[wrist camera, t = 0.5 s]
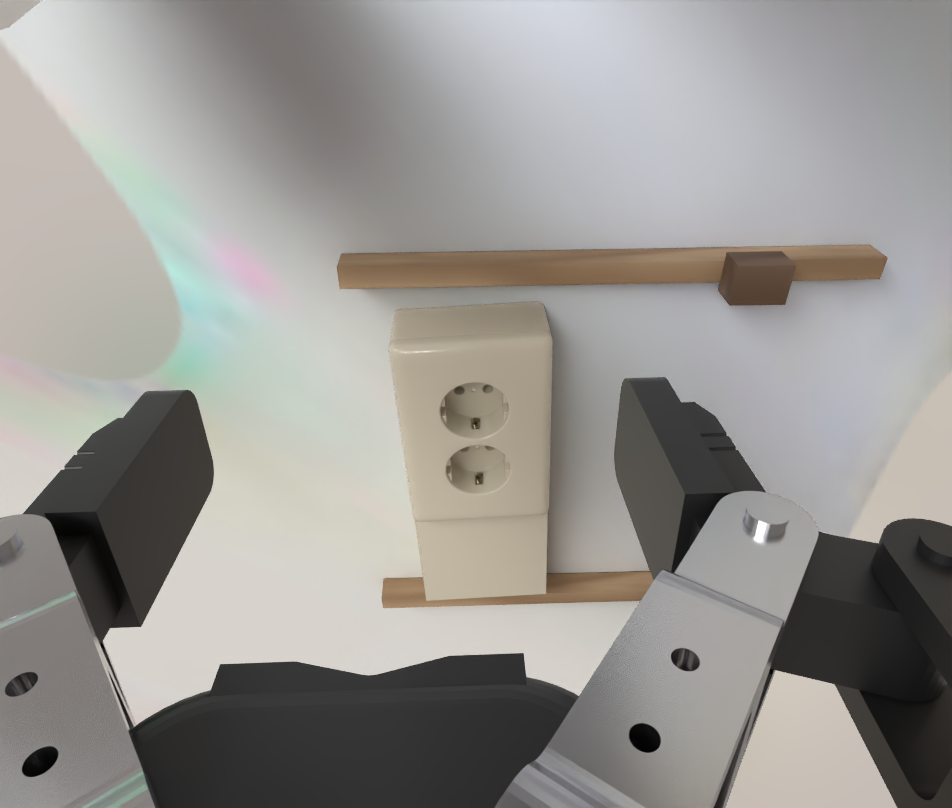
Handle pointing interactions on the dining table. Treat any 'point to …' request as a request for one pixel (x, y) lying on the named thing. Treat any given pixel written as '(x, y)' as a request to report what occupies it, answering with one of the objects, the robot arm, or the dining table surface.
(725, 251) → the brown flat piece
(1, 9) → the cup
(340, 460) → the dining table surface
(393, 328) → the electrical outlet
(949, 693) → the robot arm
